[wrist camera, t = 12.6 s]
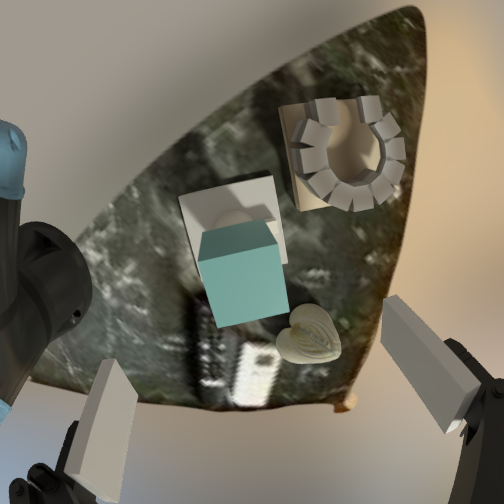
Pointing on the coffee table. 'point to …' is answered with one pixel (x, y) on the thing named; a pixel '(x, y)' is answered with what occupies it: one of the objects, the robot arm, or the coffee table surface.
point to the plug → (242, 269)
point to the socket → (341, 152)
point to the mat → (231, 208)
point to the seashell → (309, 336)
